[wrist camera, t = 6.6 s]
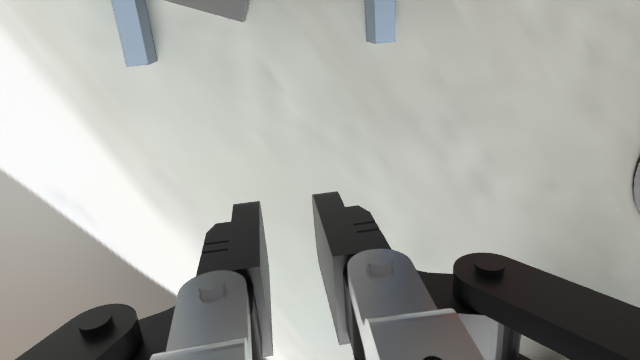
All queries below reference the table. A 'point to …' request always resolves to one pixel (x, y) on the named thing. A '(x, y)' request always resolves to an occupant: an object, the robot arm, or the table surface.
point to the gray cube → (219, 7)
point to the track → (141, 46)
